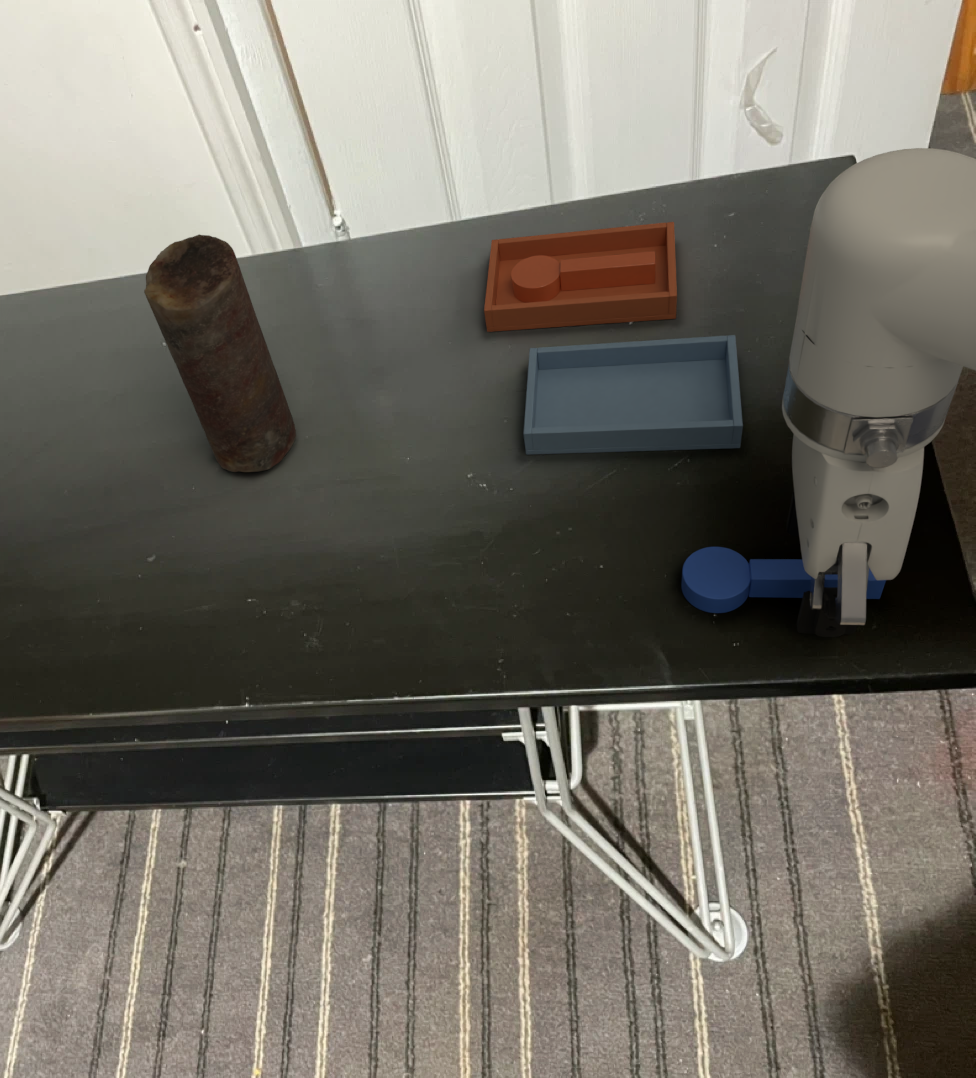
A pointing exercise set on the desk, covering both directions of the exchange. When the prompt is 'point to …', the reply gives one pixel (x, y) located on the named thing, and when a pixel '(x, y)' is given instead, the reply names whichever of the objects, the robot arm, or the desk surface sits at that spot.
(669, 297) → the terracotta tray
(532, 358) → the blue tray
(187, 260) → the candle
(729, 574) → the blue spoon
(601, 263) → the terracotta spoon
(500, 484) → the desk surface
